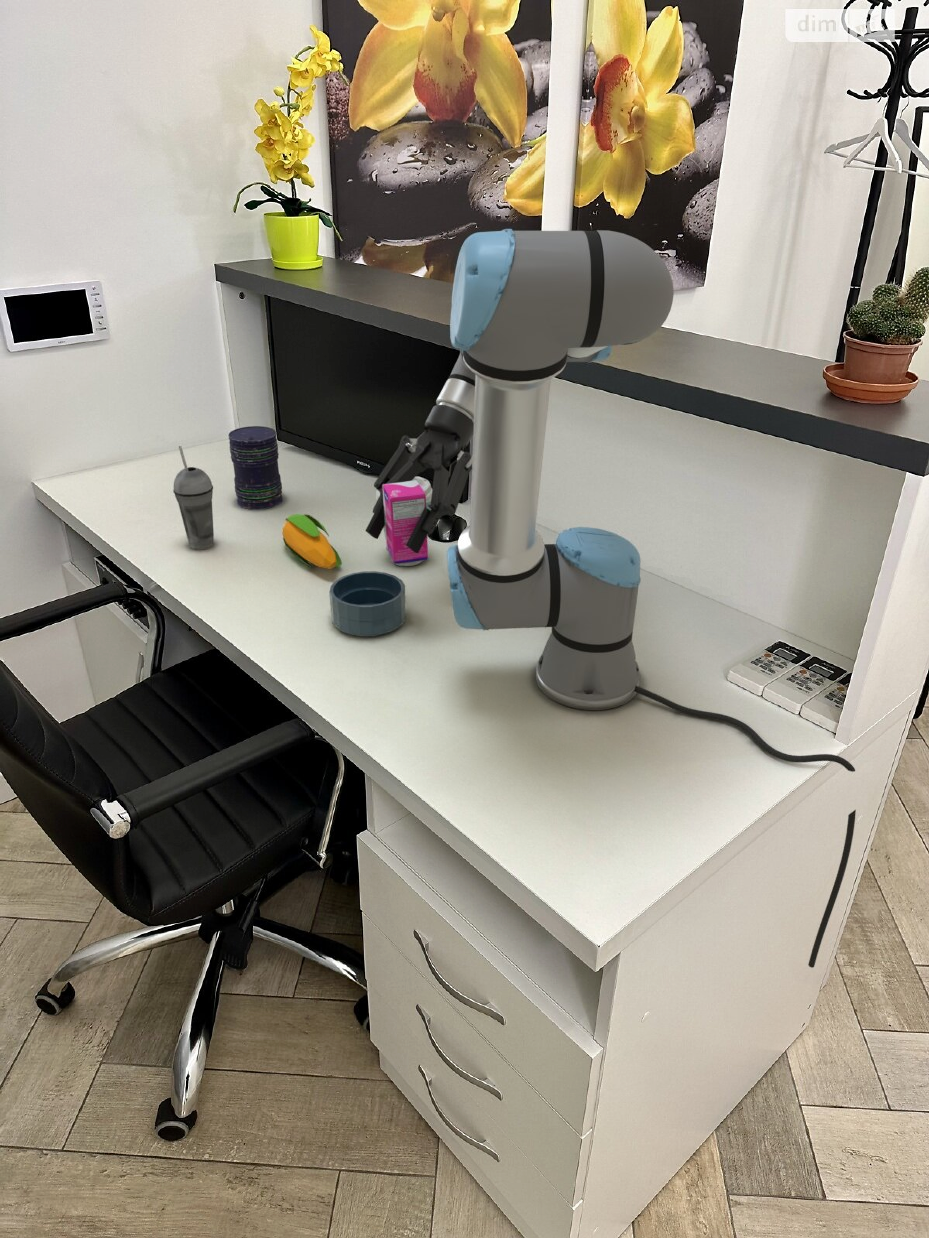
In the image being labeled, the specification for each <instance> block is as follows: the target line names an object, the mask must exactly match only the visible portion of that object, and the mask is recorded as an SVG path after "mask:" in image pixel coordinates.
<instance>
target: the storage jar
mask: <svg viewBox="0 0 929 1238" xmlns="http://www.w3.org/2000/svg"><path fill="white" fill-rule="evenodd" d="M228 440H229V443H228V444H229V453H230V459H231V462H232V467H233V472H234V478H233V482H234V492H235V496H236V498H237V499H236V503H237V505H238V506H239V507H240V508H241V509H242V508H243V509H246V510H251V511H257V510H268V509H271V508H275V507H278V506H279V505H281V504H282V502H283V501H284V500H283V499H284V498H283V495H282V494H283V483H282V477H281V474H280V470H279V468H280V467H279V460H278V459H279V444H278V438H277V431H276V430H275V429H273V428H272V427H268V426H261V425H252V426H251V425H249V426H243V427H238V428H236V429H233V430H231V431H230V432H229V433H228Z"/></svg>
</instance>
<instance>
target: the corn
mask: <svg viewBox="0 0 929 1238" xmlns="http://www.w3.org/2000/svg"><path fill="white" fill-rule="evenodd" d="M319 529H320V530H319ZM321 531H323V532H324V533H325V535H327V537H330V535H329V533H328V531H327V529H326V527H325V526H324V525H323V523H322V522H321V521H319V520H318V519H316V518H315V517H313V516H311V515H310V514H301V513H299V514H297V513H296V514H292V515H290V516H288V517H286V518H285V523H284V525H283V527H282V531H281V532H282V540H283V542H284V543H283V544H284V545H285V546H286V548H287V549H288V550H289V551H290V552H291V553H292V554H293V555H294V556H295V557H296V558H298V559H299V560H300V561H301V562H303V563H304V564H306V565H307V566H309V567H313V565H315V566H316V567H318V568H323V569H327V570H328V569H329V570H332V569H333V568H335V567H339V568H340V567H341V566H342V564H343V563H342V559H341V557H340V555H339V553H338V551H337V550H336V549H335V548H334V547H333V546H332V544H330V542H329V540H328V538H327V537H326V536H325V535H324V534H323V533H322V532H321Z"/></svg>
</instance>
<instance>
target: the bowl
mask: <svg viewBox="0 0 929 1238" xmlns="http://www.w3.org/2000/svg"><path fill="white" fill-rule="evenodd" d="M328 593H329V605H330V616H331V617H330V619H331V621H332V622H331V623H332V624H333V626H334V627H335V628H336V629H338V630H339V631H341V632H343V633H345V634H348V635H351V636H356V637H357V636H358V637H377V636H381V635H384V634H385V635H386V634H388V633H390V632H393V631H395V630H397V629H398V628H399V627H401V626H402V625H403V624H404V623H405V621H406V618H407V606H406V605H407V603H406V600H407V599H406V585H405V583H404V582H403V580H402V579H401V578H399V577H397V576H396V575H394V574H391V573H389V572H384V571H376V570H371V571H370V570H369V571H366V570H365V571H364V570H363V571H358V572H357V571H356V572H352V573H348V574H345V575H343V576H341V577H339V578H337V579H336V580H334V582H333V583H332V584H331V585H330V587H329V592H328Z"/></svg>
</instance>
